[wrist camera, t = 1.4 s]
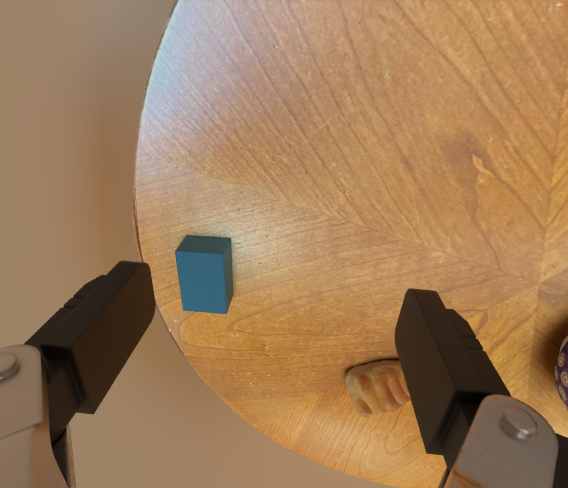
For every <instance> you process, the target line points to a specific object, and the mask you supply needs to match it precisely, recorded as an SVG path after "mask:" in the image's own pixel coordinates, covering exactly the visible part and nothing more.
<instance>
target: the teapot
mask: <svg viewBox="0 0 568 488" xmlns="http://www.w3.org/2000/svg"><path fill="white" fill-rule="evenodd" d="M554 377H555V382H556V387H557V390H558V393H559V395H560V397H561V399H562V401H563V403H564V404H565V406H566V408H567V409H568V335H567V336H566V337H565V339H564V340H563V342H562V344H561V347H560V352H559V356H558V359H557V361H556V365H555V369H554Z"/></svg>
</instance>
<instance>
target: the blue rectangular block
mask: <svg viewBox="0 0 568 488" xmlns="http://www.w3.org/2000/svg"><path fill="white" fill-rule="evenodd" d="M175 254H176V261H177V269H178V276H179V283H180V291H181V298H182V305H183V310H184V311H195V312H208V313H220V314H227V311H228V308H229V306H230V303H231V300H232V297H233V280H232V257H231V239H229V238H215V237H200V236H186V237H185V238H184V240H183V241H182V242H181V244H180V245H179V246H178V248H177V249H176V251H175Z"/></svg>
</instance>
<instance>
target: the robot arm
mask: <svg viewBox="0 0 568 488" xmlns="http://www.w3.org/2000/svg"><path fill="white" fill-rule="evenodd" d="M154 313H155V297H154V291H153V284H152V278H151V271H150V267H149V265H148V264H147V263H142V262H130V261H120V262H119V263H118V264H117V265H116V266H115V267H114V268H113V269H112V270H111V271H110V272H109V273H108V274H107V275H101V276H99V277H97V278H96V279H94V280H92V281H90V282H88V283H87V284H85V285H84V286H83V287H82V288H81V289H80V290H79V291H78V292H77V293H76V294H75V295H74V297H73V298H71V299H70V300H69V301H68V302H67V303H65V305H64V307H63V308H60V309H59V310H58V311H57V312H56V313H55V314H54V315H53V316H52V317H51V318H50V319H49V320H48V321H47V322H46V323H45V324H44V325H43V326H42V327H41V328H40V329H39V330H38V331H37V332H36V333H35V334H34V335H33V336H32V337H31V338H30V339H29V340H28V341H26V343H24V344H23V345H12V346H8V347H4V348H1V349H0V488H76V481H75V471H74V462H73V451H72V441H71V431H70V426H69V424H68V423H69V422H70V420H71V419H72V417H73V416H74V414H75V413H76V412H77V413H85V414H94V413H95V411H96V410H97V408H98V407H99V405H100V403H101V402H102V400H103V399H104V397H105V395H106V394H107V392H108V390H109V389H110V387H111V386H112V384H113V382H114V381H115V379H116V377H117V376H118V374H119V373H120V371H121V370H122V368H123V366H124V365H125V363H126V362H127V360H128V358H129V357H130V355H131V353H132V352H133V350H134V349H135V347H136V346H137V344H138V342H139V341H140V339H141V337H142V336H143V334H144V333H145V331H146V330H147V328H148V326H149V325H150V323H151V321H152V319H153V316H154ZM395 345H396V350H397V353H398V356H399V360H400V363H401V367H402V370H403V374H404V377H405V381H406V384H407V388H408V391H409V394H410V398H411V401H412V405H413V408H414V412H415V415H416V419H417V422H418V425H419V429H420V432H421V436H422V439H423V443H424V446H425V450H426V453H428V454H437V455H443V456H444V459H445V462H446V465H447V468H446V470H445V472H444V474H443V476H442V478H441V481H440V483H439V485H438V487H437V488H568V438H567V437H564V436H561V435H559V434H557V433H555V432H554V430H553V428H552V427H551V425H550V424H549V423H548V422H547V420H546V419H545V418H544V417H543V416H542V415H541V414H539V413H538V412H537V411H536V410H535V409H533V408H532V407H530V406H529V405H527V404H526V403H524V402H522V401H520V400H518V399H515V398H513V397H512V396H511V395H510V393H509V391H508V390H507V388H506V386H505V385H504V383H503V381H502V379H501V378H500V376H499V374H498V373H497V371H496V369H495V368H494V366H493V364H492V363H491V361H490V359H489V358H488V356H487V354H486V352H485V351H483V347H482V346H481V344H480V342H479V341H478V339H476V336H475V334H474V332H473V331H472V329H471V327H470V325H469V324H468V322H467V321H466V320H465V319H463V318H462V317H461V316H460V315H459V314H458V313H457V312H456V311H454V310H453V309H446V308H445V306H444V304H443V302H442V300H441V299H440V297H439V295H438V293H437V292H436V291H432V290H421V289H408V290H407V292H406V294H405V298H404V301H403V304H402V308H401V311H400V315H399V318H398V321H397V325H396V329H395Z"/></svg>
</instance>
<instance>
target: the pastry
mask: <svg viewBox="0 0 568 488" xmlns="http://www.w3.org/2000/svg"><path fill="white" fill-rule="evenodd" d="M345 381H346V385H347V388H348V391H349V392H350V395H351V397H352V401H353V403H354V405H355V407H356V409H357V411H358V413H359V414H361V415H363V416H364V417H368V416H370V415H371V414H377V413H386V412H389V411H391V412H393V411H396V410H398V409H399V407H401V406H402V405H404V404H406V402H408V401H409V400H411V398H410V394H409V391H408V388H407V384H406V381H405V377H404V374H403V370H402V367H401V363H400V360H398V361H393V360H382V361H377V362H372V363H368V364H367V365H359V366H355V367H353V368H352V369H351V370H349V371H348V372H347V374H346V375H345Z"/></svg>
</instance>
